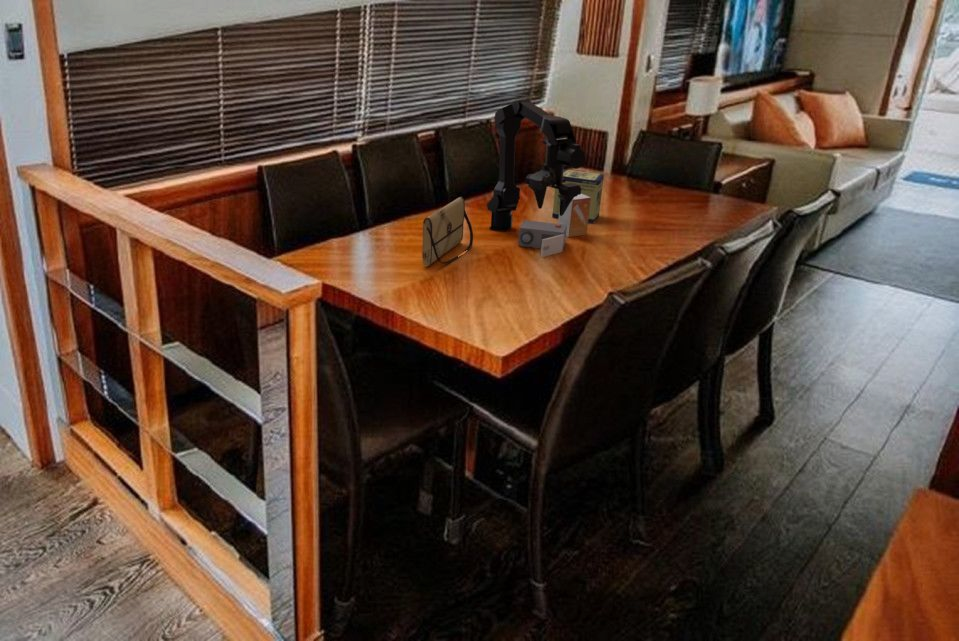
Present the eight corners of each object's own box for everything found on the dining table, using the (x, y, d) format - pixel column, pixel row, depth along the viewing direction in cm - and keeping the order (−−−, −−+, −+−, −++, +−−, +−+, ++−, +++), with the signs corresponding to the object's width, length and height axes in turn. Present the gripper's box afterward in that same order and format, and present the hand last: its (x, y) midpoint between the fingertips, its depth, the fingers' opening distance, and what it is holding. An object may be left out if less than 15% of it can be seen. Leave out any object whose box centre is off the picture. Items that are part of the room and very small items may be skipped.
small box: (568, 238, 262) (572, 199, 256) (556, 232, 266) (560, 194, 261) (587, 234, 266) (591, 197, 261) (575, 229, 271) (579, 192, 265)
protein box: (594, 223, 278) (599, 180, 272) (551, 217, 283) (555, 174, 277) (599, 216, 288) (604, 174, 281) (558, 210, 292) (562, 168, 286)
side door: (542, 257, 242) (544, 240, 240) (540, 256, 243) (541, 239, 241) (563, 251, 248) (565, 234, 246) (561, 250, 249) (563, 234, 247)
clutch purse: (441, 272, 226) (443, 221, 220) (419, 268, 228) (420, 218, 222) (477, 243, 252) (479, 197, 246) (457, 240, 254) (459, 194, 248)
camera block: (517, 247, 250) (518, 227, 247) (522, 237, 259) (524, 218, 257) (561, 252, 247) (563, 232, 245) (565, 242, 257) (567, 222, 254)
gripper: (514, 158, 239) (510, 208, 245) (558, 170, 226) (553, 223, 232) (540, 154, 246) (536, 203, 252) (584, 166, 233) (579, 218, 239)
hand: (550, 212), depth 244 cm, fingers open, 9 cm apart
